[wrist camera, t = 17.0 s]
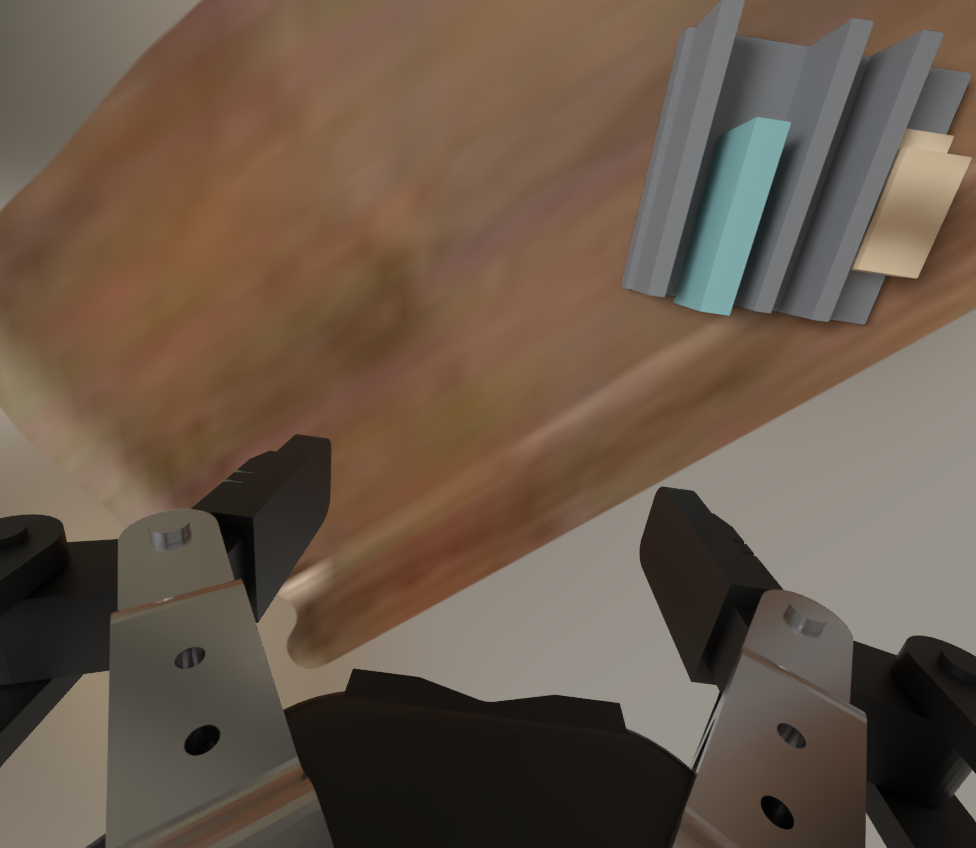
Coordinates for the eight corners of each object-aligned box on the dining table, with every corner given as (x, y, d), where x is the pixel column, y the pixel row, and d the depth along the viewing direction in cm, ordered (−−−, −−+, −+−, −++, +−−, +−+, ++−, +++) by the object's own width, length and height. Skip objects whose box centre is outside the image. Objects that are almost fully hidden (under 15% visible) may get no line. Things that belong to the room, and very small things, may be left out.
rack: (679, 36, 31) (714, -5, 26) (951, 81, 31) (1039, 48, 26) (620, 286, 36) (639, 293, 31) (850, 321, 37) (907, 333, 32)
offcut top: (881, 153, 30) (907, 147, 28) (942, 162, 30) (972, 157, 28) (837, 268, 32) (857, 269, 30) (893, 276, 32) (917, 278, 30)
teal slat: (756, 116, 27) (699, 311, 31) (791, 122, 27) (729, 315, 31) (719, 135, 31) (673, 302, 35) (748, 140, 31) (699, 306, 35)
